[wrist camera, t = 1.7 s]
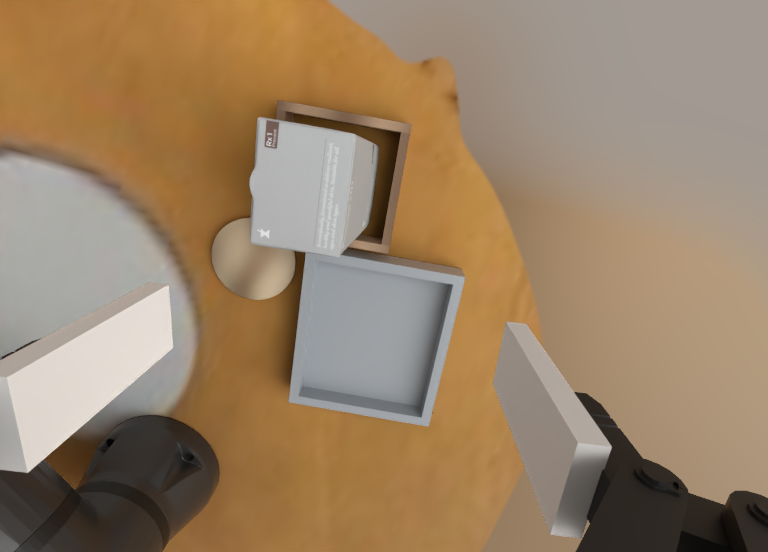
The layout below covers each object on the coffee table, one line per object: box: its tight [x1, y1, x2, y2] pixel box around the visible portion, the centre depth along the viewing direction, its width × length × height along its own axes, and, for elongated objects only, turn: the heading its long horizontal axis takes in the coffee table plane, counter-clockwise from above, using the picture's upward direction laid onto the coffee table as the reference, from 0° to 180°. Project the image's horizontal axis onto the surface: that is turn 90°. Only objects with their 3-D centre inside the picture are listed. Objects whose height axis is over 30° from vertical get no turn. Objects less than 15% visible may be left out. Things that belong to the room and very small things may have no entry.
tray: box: [289, 248, 465, 427], centre depth 44 cm, size 16×18×3 cm
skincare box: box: [249, 117, 379, 257], centre depth 33 cm, size 8×7×16 cm
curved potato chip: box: [212, 218, 296, 300], centre depth 43 cm, size 9×9×1 cm
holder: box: [276, 100, 412, 254], centre depth 39 cm, size 12×12×3 cm
